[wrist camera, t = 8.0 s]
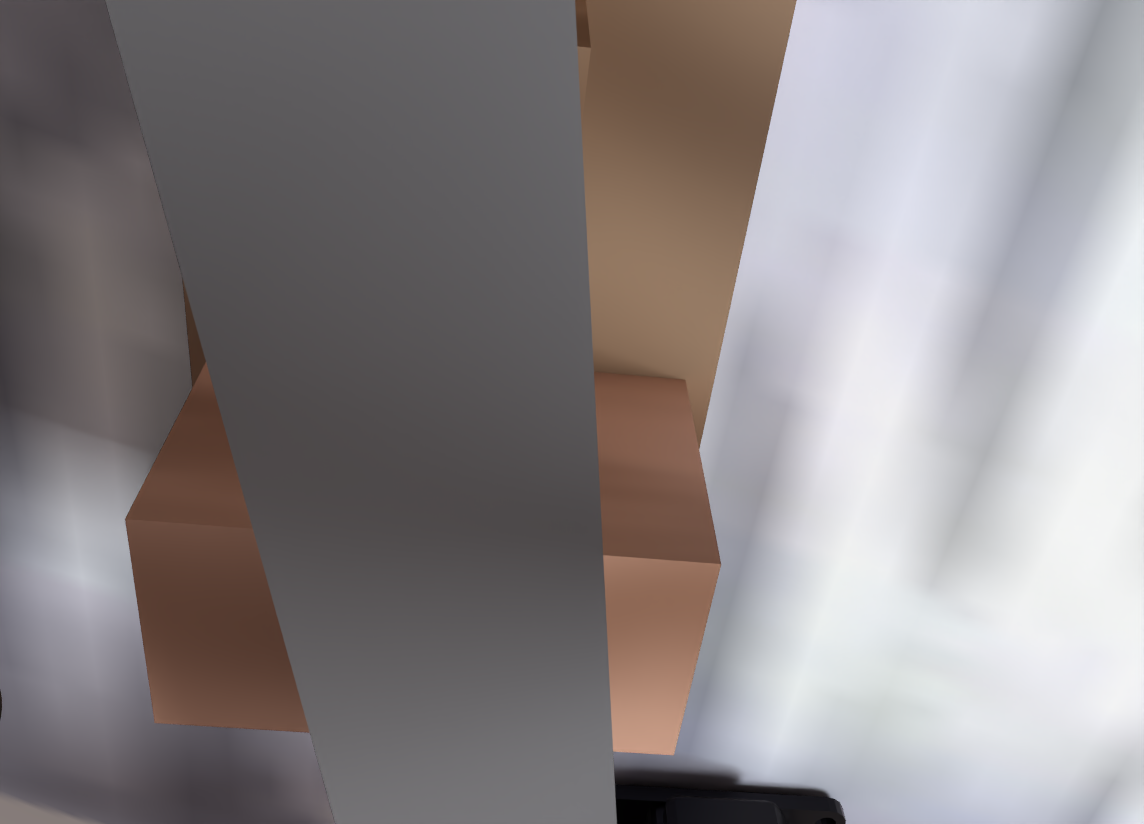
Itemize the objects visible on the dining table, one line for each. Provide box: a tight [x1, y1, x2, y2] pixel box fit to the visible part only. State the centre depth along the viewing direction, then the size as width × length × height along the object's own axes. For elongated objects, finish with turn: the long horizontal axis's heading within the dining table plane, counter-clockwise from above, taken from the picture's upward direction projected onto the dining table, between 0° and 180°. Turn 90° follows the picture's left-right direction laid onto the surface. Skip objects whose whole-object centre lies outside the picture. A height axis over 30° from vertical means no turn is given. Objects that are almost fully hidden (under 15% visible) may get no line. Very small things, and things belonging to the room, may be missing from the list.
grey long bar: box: [105, 0, 617, 824], centre depth 10 cm, size 20×3×4 cm, turn 3°
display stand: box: [125, 0, 797, 755], centre depth 14 cm, size 19×9×6 cm, turn 174°
